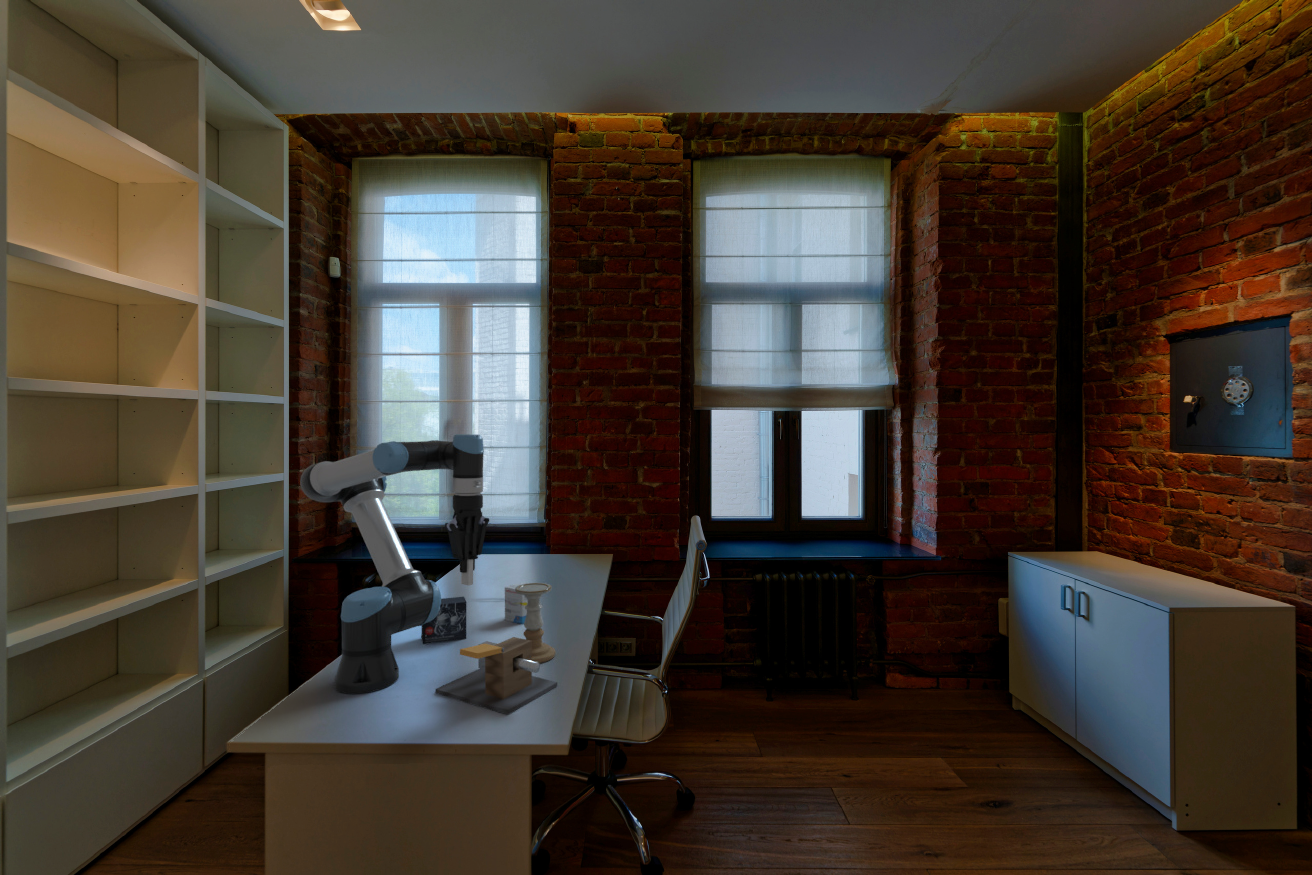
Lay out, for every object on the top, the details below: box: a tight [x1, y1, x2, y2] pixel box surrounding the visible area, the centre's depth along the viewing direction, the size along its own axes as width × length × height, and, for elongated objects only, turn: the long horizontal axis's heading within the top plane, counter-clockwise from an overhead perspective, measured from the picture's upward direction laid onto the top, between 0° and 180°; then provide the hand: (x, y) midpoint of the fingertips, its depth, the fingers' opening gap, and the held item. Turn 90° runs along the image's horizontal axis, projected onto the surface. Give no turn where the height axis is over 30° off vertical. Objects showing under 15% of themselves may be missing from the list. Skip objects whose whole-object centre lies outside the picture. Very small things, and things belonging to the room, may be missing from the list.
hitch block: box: [434, 636, 558, 716], centre depth 154 cm, size 24×18×12 cm
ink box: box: [504, 581, 528, 625], centre depth 212 cm, size 8×8×12 cm
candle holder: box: [515, 582, 556, 664], centre depth 177 cm, size 12×12×20 cm
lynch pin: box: [477, 641, 541, 674], centre depth 152 cm, size 18×5×6 cm, turn 60°
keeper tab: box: [459, 643, 504, 660], centre depth 144 cm, size 6×9×1 cm, turn 150°
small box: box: [420, 596, 467, 645], centre depth 192 cm, size 13×7×12 cm, turn 114°
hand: (467, 583), depth 159 cm, fingers closed
